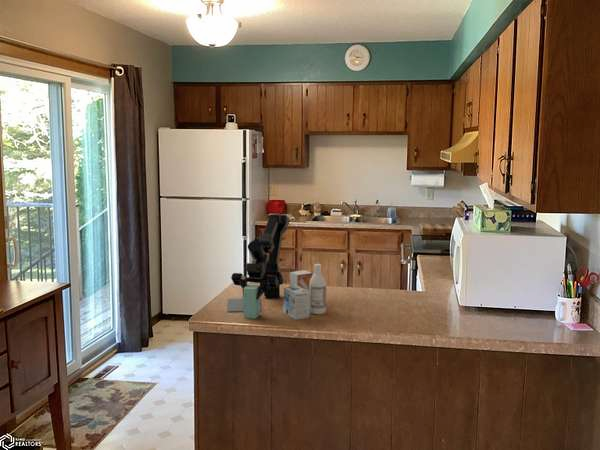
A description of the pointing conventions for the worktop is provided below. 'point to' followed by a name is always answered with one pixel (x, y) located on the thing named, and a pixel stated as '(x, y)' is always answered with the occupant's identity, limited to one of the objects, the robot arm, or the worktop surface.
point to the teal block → (251, 302)
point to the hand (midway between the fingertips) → (250, 298)
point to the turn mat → (236, 305)
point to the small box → (300, 279)
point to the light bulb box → (296, 302)
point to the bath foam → (317, 292)
